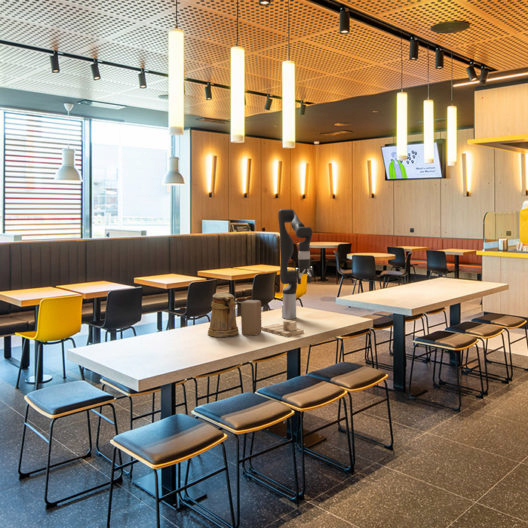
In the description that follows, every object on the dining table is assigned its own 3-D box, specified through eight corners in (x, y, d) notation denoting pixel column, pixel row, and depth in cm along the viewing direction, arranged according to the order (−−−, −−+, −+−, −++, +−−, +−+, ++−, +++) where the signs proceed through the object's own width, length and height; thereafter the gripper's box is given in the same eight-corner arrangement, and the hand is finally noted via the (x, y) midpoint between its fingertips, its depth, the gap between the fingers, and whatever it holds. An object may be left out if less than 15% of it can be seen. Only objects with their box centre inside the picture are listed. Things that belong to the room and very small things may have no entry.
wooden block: (262, 332, 331) (261, 300, 329) (256, 335, 322) (255, 302, 320) (246, 331, 334) (246, 299, 332) (241, 334, 325) (240, 302, 323)
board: (261, 330, 337) (261, 326, 336) (278, 326, 345) (278, 323, 345) (286, 336, 318) (286, 333, 318) (303, 333, 327) (303, 329, 327)
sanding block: (283, 329, 327) (283, 321, 327) (288, 328, 330) (288, 319, 330) (291, 331, 322) (291, 322, 321) (296, 330, 325) (296, 321, 324)
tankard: (227, 329, 340) (226, 290, 338) (248, 336, 321) (247, 295, 319) (202, 333, 330) (201, 293, 327) (222, 340, 311) (221, 298, 308)
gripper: (308, 257, 349) (308, 281, 351) (291, 258, 340) (292, 283, 342) (316, 257, 343) (316, 282, 345) (299, 259, 334) (299, 285, 336)
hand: (304, 283), depth 343 cm, fingers open, 8 cm apart
